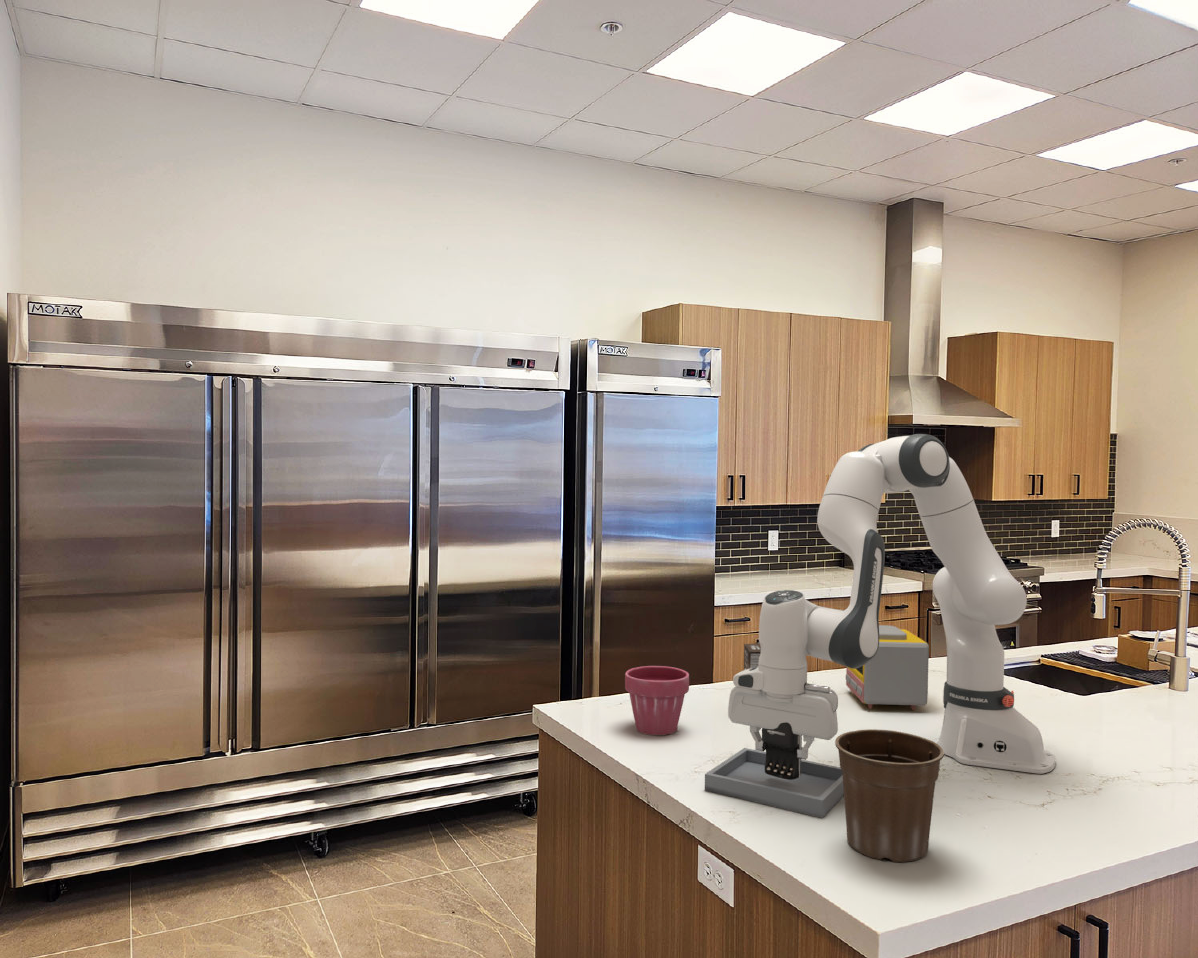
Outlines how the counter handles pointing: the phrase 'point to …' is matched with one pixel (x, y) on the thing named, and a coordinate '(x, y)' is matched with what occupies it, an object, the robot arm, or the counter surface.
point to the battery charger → (782, 752)
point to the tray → (777, 784)
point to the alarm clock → (893, 671)
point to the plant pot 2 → (888, 792)
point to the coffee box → (751, 655)
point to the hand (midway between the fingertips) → (781, 754)
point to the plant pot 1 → (656, 697)
